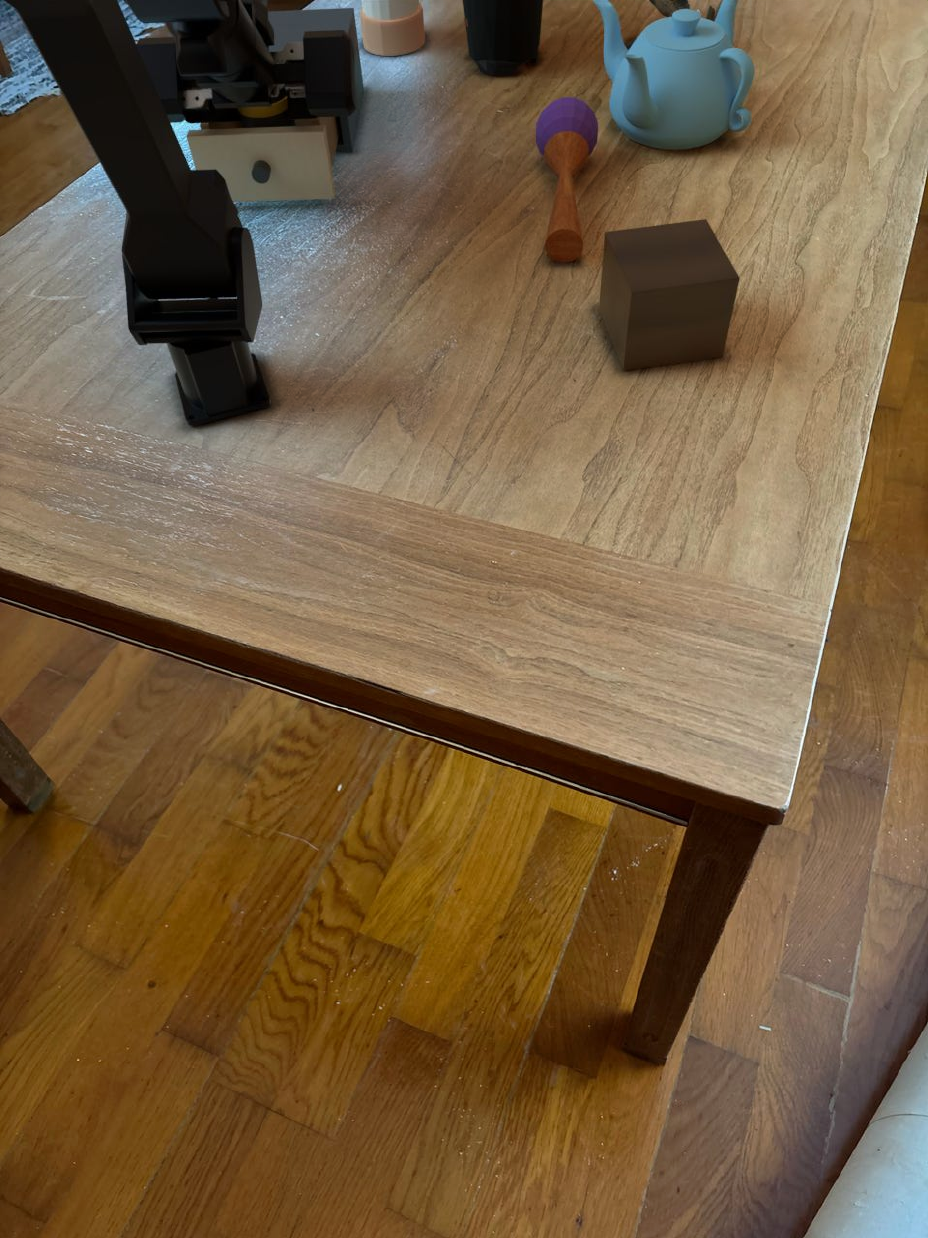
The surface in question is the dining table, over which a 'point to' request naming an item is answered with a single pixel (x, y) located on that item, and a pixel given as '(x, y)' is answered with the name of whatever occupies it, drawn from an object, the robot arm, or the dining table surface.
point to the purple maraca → (565, 169)
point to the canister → (267, 113)
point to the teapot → (677, 78)
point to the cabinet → (298, 21)
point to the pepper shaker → (392, 26)
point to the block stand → (666, 294)
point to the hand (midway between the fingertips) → (270, 114)
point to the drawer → (270, 158)
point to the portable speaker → (502, 33)
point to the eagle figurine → (668, 3)
